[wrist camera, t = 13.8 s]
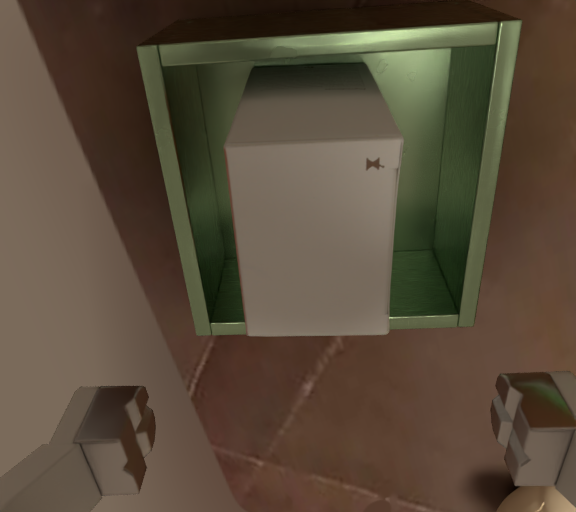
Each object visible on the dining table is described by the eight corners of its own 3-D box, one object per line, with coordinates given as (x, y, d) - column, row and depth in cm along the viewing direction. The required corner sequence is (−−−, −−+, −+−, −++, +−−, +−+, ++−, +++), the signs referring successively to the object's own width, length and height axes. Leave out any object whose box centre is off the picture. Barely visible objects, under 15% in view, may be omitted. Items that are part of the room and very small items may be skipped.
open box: (216, 261, 31) (196, 336, 25) (176, 19, 24) (135, 45, 18) (441, 251, 31) (474, 327, 25) (468, -1, 23) (523, 19, 17)
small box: (250, 65, 24) (219, 138, 15) (369, 60, 24) (407, 132, 15) (262, 215, 28) (242, 341, 20) (363, 212, 28) (390, 339, 19)
